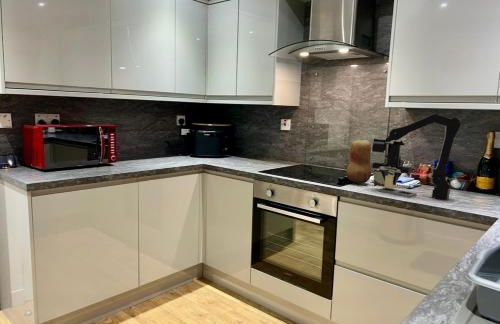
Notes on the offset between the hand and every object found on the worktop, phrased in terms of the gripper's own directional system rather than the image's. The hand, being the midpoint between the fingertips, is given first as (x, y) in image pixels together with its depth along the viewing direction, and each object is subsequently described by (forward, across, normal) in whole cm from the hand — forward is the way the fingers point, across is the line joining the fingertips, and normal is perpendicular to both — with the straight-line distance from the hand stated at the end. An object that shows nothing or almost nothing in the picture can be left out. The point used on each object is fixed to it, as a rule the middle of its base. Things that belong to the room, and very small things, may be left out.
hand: (390, 184), depth 188 cm
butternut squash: (+5, +24, -10) cm, 26 cm away
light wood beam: (+2, 0, 0) cm, 2 cm away
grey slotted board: (+5, -4, 0) cm, 6 cm away
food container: (+5, +10, -14) cm, 18 cm away
